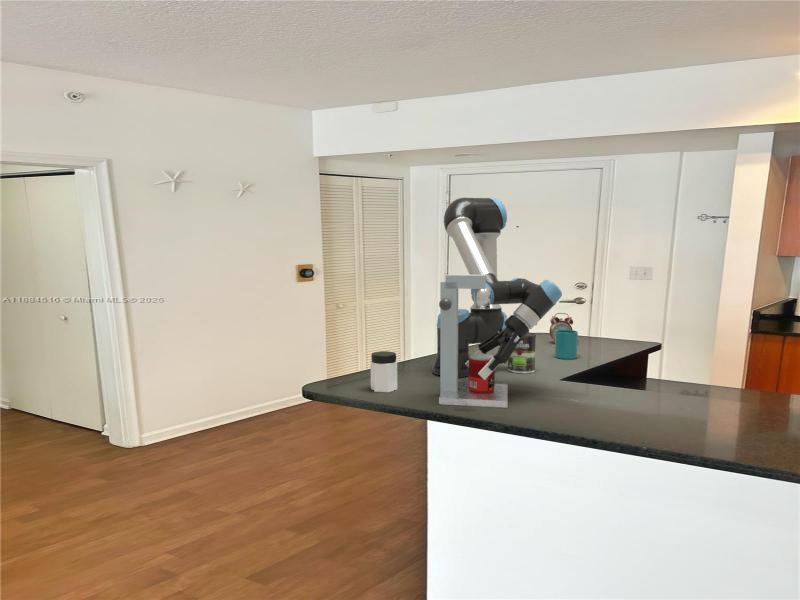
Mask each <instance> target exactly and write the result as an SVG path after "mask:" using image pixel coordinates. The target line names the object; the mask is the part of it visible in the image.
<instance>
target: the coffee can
mask: <svg viewBox="0 0 800 600" xmlns="http://www.w3.org/2000/svg"><path fill="white" fill-rule="evenodd" d="M536 337H537V334H536V333H534V332H530V331H529V332H528V333H527V334H526V335H525V337H524V338H522V339H521V341H520V342H519V343H518V344H517V346H516V347H515V349H514V351H513V352H512V354H511V356H510V357H509V359H508V361H507V371H508V370H509V371H508V372H510V371H511V372H510V373H514V374H532V373H535V371H536Z"/></svg>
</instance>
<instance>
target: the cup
mask: <svg viewBox="0 0 800 600" xmlns="http://www.w3.org/2000/svg"><path fill="white" fill-rule="evenodd" d="M578 336H579V332H578V330H573V329H572V330H556V331H555V344H554V357H555V358H556V359H560V360H575V359H577V358H578V346H579V338H578Z"/></svg>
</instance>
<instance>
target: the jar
mask: <svg viewBox="0 0 800 600" xmlns="http://www.w3.org/2000/svg"><path fill="white" fill-rule="evenodd" d="M370 357H371V358H370V359H371V360H370V389H371V390H372V391H373V390H374V391H373V392H375V393H391V392H395V391H398V361H397V353H396V352H395V351H390V350H389V351H386V350H383V351H381V350H380V351H374V352H372V353H371V356H370ZM394 390H395V391H394Z"/></svg>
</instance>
